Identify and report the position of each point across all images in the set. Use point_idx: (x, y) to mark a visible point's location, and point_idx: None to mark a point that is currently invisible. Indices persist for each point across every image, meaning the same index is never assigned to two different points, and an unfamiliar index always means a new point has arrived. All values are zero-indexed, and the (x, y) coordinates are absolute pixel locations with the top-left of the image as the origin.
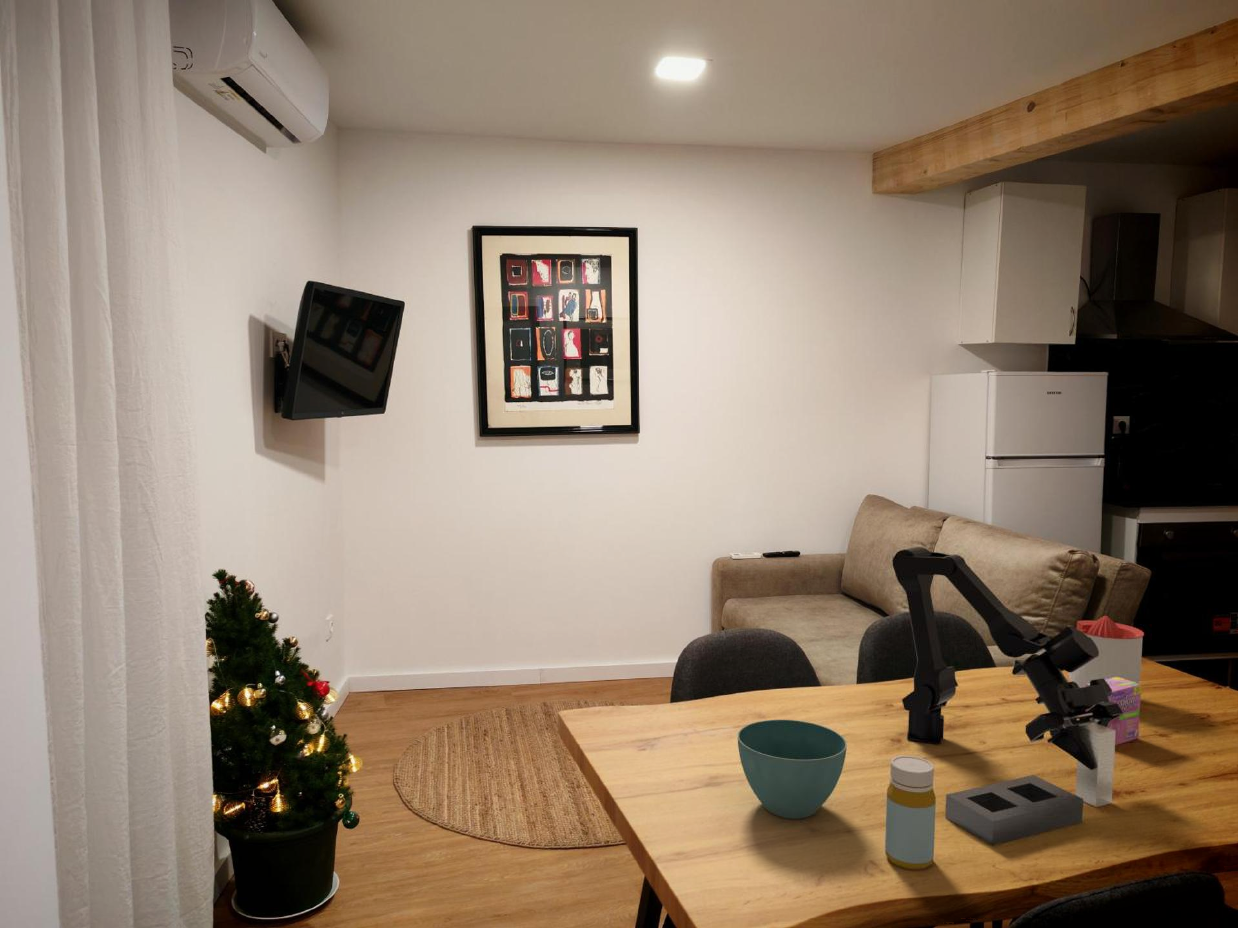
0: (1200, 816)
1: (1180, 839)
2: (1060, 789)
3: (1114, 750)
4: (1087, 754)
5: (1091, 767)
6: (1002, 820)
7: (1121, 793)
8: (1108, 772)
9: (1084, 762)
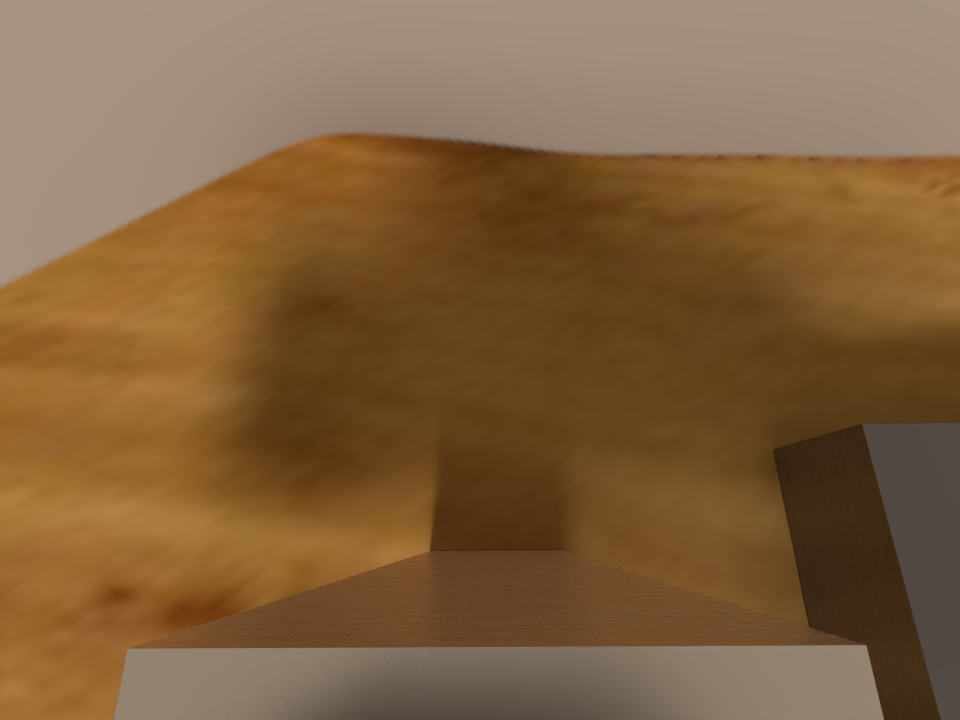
0: (181, 288)
1: (471, 193)
2: (933, 607)
3: (333, 582)
4: None
5: None
6: None
7: None
8: (455, 562)
9: None
